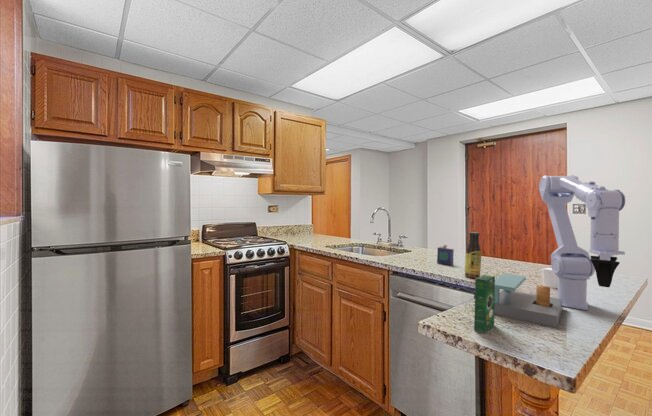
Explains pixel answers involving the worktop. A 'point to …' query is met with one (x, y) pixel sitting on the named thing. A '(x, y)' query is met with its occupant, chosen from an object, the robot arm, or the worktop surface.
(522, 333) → the worktop surface
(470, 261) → the sauce bottle
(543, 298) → the peg
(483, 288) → the coffee box
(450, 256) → the flask
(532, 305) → the socket stand
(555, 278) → the white cube
